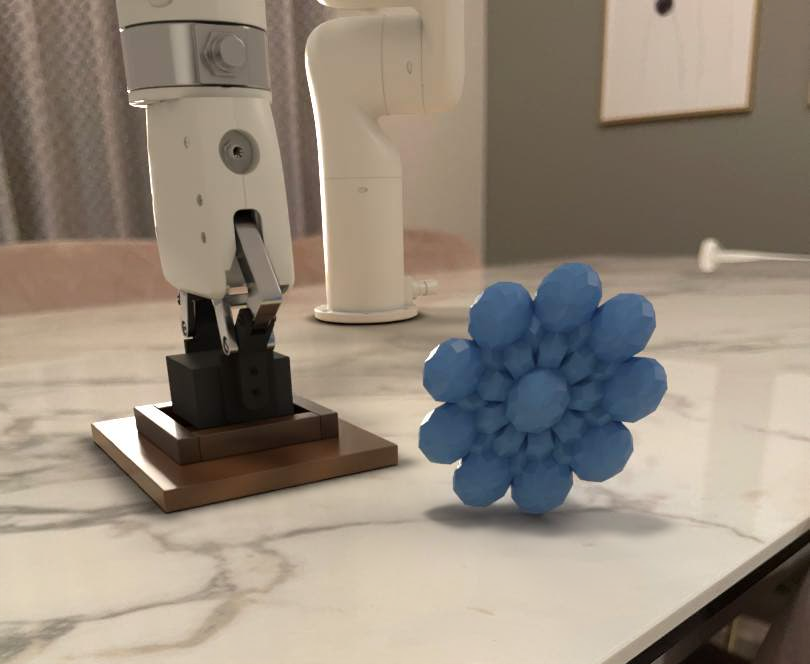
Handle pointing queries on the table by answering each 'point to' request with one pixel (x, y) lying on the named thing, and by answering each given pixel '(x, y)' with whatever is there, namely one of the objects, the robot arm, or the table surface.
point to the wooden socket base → (237, 452)
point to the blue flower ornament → (541, 390)
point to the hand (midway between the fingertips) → (233, 406)
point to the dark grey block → (214, 387)
